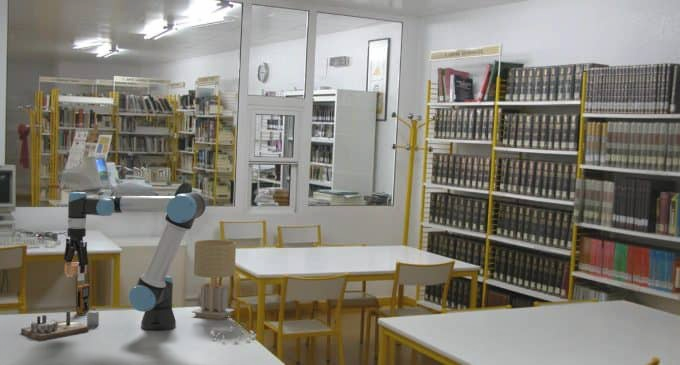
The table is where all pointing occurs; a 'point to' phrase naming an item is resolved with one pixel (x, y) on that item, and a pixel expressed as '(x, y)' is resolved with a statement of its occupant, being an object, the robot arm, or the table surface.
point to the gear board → (57, 333)
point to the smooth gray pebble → (92, 318)
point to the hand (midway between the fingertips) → (75, 278)
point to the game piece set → (233, 339)
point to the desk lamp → (214, 275)
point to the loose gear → (73, 268)
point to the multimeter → (83, 297)
